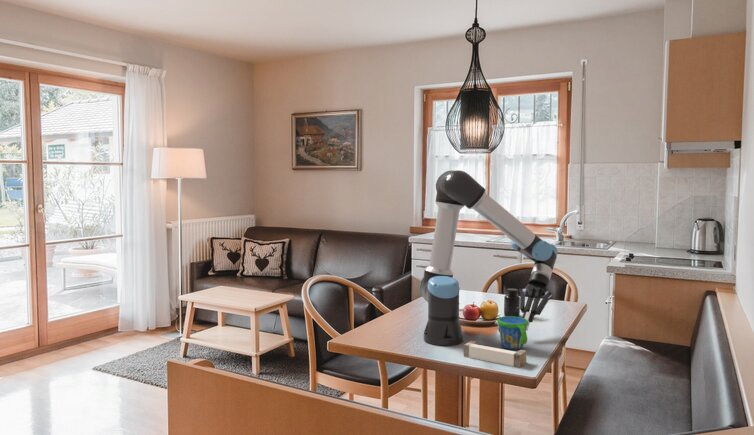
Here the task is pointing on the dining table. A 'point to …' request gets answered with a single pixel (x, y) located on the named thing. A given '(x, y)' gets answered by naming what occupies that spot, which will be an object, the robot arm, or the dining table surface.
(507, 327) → the snack cup
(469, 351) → the rail
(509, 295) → the supplement bottle
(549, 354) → the dining table surface
